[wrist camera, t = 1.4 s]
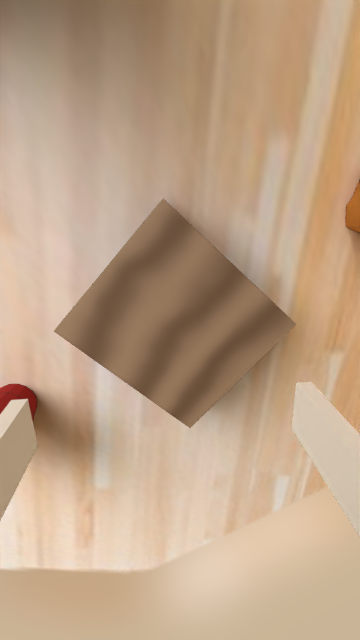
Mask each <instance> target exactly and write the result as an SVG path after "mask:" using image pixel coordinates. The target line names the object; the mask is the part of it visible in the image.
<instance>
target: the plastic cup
mask: <svg viewBox="0 0 360 640" xmlns="http://www.w3.org/2000/svg"><path fill="white" fill-rule="evenodd" d="M20 399H28V402H29V407H30V412H31V417H32V421H33V420H34V414H35V411H36V408H37V400H36V396H35V395H34V393H33V392H32V391H31V390H30V389H29V388H27V387H26V386H23V385H20V384H9V385H6V386H4V387H1V388H0V414H1V413H2V411H3V410H4V409H5V408H6V406H7V405H8V404H9V402H10V401H11V400H20Z"/></svg>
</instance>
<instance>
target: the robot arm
mask: <svg viewBox="0 0 360 640" xmlns="http://www.w3.org/2000/svg"><path fill="white" fill-rule="evenodd" d="M291 429H292V430H293V432H294V433H295V435H296V436H297V438H298V440H299V441H300V443H301V444H302V446H303V448H304V449H305V451H306V452H307V454H308V456H309V457H310V459H311V460H312V462H313V464H314V465H315V467H316V468H317V470H318V472H319V473H320V475H321V476H322V478H323V479H324V481H325V483H326V484H327V486H328V487H329V489H330V491H331V492H332V494H333V495H334V497H335V499H336V500H337V502H338V503H339V505H340V506H341V508H342V510H343V511H344V513H345V514H346V516H347V518H348V519H349V521H350V522H351V524H352V526H353V527H354V529H355V530H356V532H357V534H358V535H359V537H360V434H359V433H358V432H357V431H356V430H355V429H354V428H353V427H352V426H351V425H350V423H349V422H348V421H347V420H346V419H345V418H344V417H343V416H342V415H341V414H340V413H339V411H338V410H337V409H336V408H335V407H334V406H333V405H332V404H331V403H330V402H329V401H328V399H327V398H326V397H325V396H324V395H323V394H322V393H321V392H320V391H319V390H318V389H317V388H316V386H315V385H314V384H313V383H312V382H297V383H296V390H295V400H294V409H293V419H292V428H291ZM37 447H38V445H37V440H36V436H35V431H34V426H33V421H32V417H31V412H30V407H29V402H28V399H20V400H11V401H10V402H9V404H8V405H7V406H6V408H5V409H4V410H3V411H2V413H1V414H0V520H1V518H2V516H3V514H4V512H5V510H6V508H7V506H8V504H9V502H10V500H11V498H12V496H13V494H14V492H15V490H16V488H17V486H18V484H19V482H20V480H21V478H22V476H23V474H24V473H25V471H26V469H27V467H28V465H29V463H30V461H31V459H32V457H33V455H34V453H35V451H36V449H37Z"/></svg>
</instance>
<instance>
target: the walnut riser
mask: <svg viewBox="0 0 360 640" xmlns="http://www.w3.org/2000/svg"><path fill="white" fill-rule="evenodd" d="M295 325H296V324H295V323H294V322H293V321H292V320H291V319H290V318H289V317H288V316H287V315H286V314H285V313H284V312H283V311H282V310H281V309H279V308H278V307H277V306H276V305H275V304H274V303H273V302H272V301H271V300H270V299H269V298H268V297H267V296H266V295H265V294H264V293H263V292H261V291H260V290H259V289H258V288H257V287H256V286H255V285H254V284H253V283H252V282H251V281H250V280H249V279H248V278H247V277H246V276H245V275H243V274H242V273H241V272H240V271H239V270H238V269H237V268H236V267H235V266H234V265H233V264H232V263H231V262H230V261H229V260H228V259H227V258H225V257H224V256H223V255H222V254H221V253H220V252H219V251H218V250H217V249H216V248H215V247H214V246H213V245H212V244H211V243H210V242H209V241H207V240H206V239H205V238H204V237H203V236H202V235H201V234H200V233H199V232H198V231H197V230H196V229H195V228H194V227H193V226H192V225H191V224H189V223H188V222H187V221H186V220H185V219H184V218H183V217H182V216H181V215H180V214H179V213H178V212H177V211H176V210H175V209H174V208H173V207H171V206H170V205H169V204H168V203H167V202H166V201H165V200H164V199H162V200H161V201H160V203H159V204H158V205H157V206H156V208H155V209H154V210H153V211H152V212H151V214H150V215H149V216H148V217H147V219H146V220H145V221H144V222H143V223H142V225H141V226H140V227H139V228H138V229H137V231H136V232H135V233H134V234H133V236H132V237H131V238H130V239H129V240H128V242H127V243H126V244H125V245H124V246H123V248H122V249H121V250H120V251H119V253H118V254H117V255H116V256H115V257H114V259H113V260H112V261H111V262H110V263H109V265H108V266H107V267H106V268H105V270H104V271H103V272H102V273H101V274H100V276H99V277H98V278H97V279H96V280H95V282H94V283H93V284H92V285H91V287H90V288H89V289H88V290H87V291H86V293H85V294H84V295H83V296H82V298H81V299H80V300H79V301H78V302H77V304H76V305H75V306H74V307H73V308H72V310H71V311H70V312H69V313H68V315H67V316H66V317H65V318H64V319H63V321H62V322H61V323H60V324H59V325H58V327H57V328H56V329H55V330H54V332H56V333H57V334H58V335H60V336H61V337H63V338H64V339H65V340H67V341H68V342H70V343H71V344H72V345H74V346H75V347H77V348H78V349H79V350H81V351H82V352H84V353H85V354H86V355H88V356H89V357H91V358H92V359H94V360H95V361H96V362H98V363H99V364H101V365H102V366H103V367H105V368H106V369H108V370H109V371H110V372H112V373H113V374H115V375H116V376H117V377H119V378H120V379H122V380H123V381H124V382H126V383H127V384H129V385H130V386H132V387H133V388H134V389H136V390H137V391H139V392H140V393H141V394H143V395H144V396H146V397H147V398H148V399H150V400H151V401H153V402H154V403H155V404H157V405H158V406H160V407H161V408H162V409H164V410H165V411H167V412H168V413H169V414H171V415H172V416H174V417H175V418H177V419H178V420H179V421H181V422H182V423H184V424H185V425H186V426H188V427H189V428H191V427H192V426H193V425H194V424H195V423H196V422H197V421H198V420H199V419H200V418H201V417H202V416H203V415H204V414H205V413H206V412H207V411H208V410H209V409H210V408H211V407H212V406H213V405H214V404H215V403H216V402H217V401H218V400H219V399H220V398H221V397H222V396H223V395H224V394H225V393H226V392H228V391H229V390H230V389H231V388H232V387H233V386H234V385H235V384H236V383H237V382H238V381H239V380H240V379H241V378H242V377H243V376H244V375H245V374H246V373H247V372H248V371H249V370H250V369H251V368H252V367H253V366H254V365H255V364H256V363H257V362H258V361H259V360H260V359H261V358H262V357H263V356H264V355H265V354H266V353H267V352H269V351H270V350H271V349H272V348H273V347H274V346H275V345H276V344H277V343H278V342H279V341H280V340H281V339H282V338H283V337H284V336H285V335H286V334H287V333H288V332H289V331H290V330H291V329H292V328H293V327H294V326H295Z"/></svg>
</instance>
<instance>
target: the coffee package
mask: <svg viewBox="0 0 360 640" xmlns="http://www.w3.org/2000/svg"><path fill="white" fill-rule="evenodd" d="M346 226H347V227H348V228H350V229H352V230H355V231H357V232H359V233H360V180H359V183H358V185H357V187H356V189H355V192H354V195H353V197H352V199H351V201H350V202H349V203H348V204H347V206H346Z"/></svg>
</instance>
